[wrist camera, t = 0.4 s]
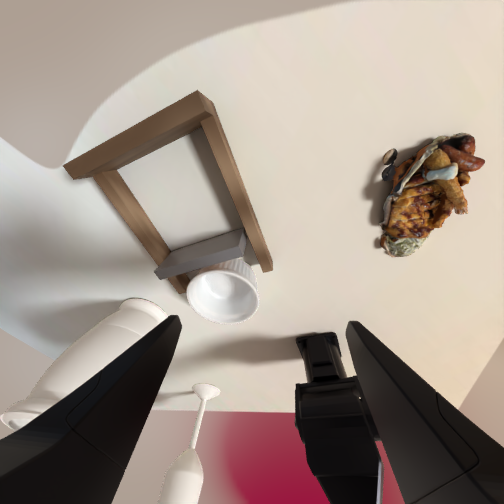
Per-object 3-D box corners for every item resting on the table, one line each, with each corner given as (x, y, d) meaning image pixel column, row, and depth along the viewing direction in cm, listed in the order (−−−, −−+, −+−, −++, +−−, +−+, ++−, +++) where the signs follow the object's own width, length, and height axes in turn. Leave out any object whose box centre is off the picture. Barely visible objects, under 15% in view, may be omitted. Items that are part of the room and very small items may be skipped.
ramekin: (273, 274, 25) (274, 297, 21) (238, 309, 29) (233, 334, 25) (217, 238, 23) (206, 256, 19) (187, 282, 27) (174, 304, 23)
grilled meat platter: (374, 256, 22) (391, 273, 19) (379, 151, 17) (404, 152, 14) (440, 245, 21) (469, 261, 18) (468, 126, 16) (518, 121, 12)
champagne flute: (192, 381, 41) (114, 618, 20) (221, 386, 41) (173, 627, 20) (192, 394, 45) (126, 609, 24) (219, 399, 45) (177, 617, 24)
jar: (106, 288, 28) (-30, 407, 15) (171, 296, 28) (89, 424, 15) (124, 331, 34) (34, 446, 21) (179, 338, 33) (122, 459, 20)
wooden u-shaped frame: (272, 261, 23) (273, 280, 20) (184, 284, 27) (172, 305, 23) (212, 102, 16) (197, 90, 12) (100, 162, 19) (62, 165, 15)
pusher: (248, 238, 22) (244, 258, 18) (178, 260, 24) (161, 282, 20) (244, 227, 21) (238, 245, 17) (172, 250, 23) (153, 271, 20)
